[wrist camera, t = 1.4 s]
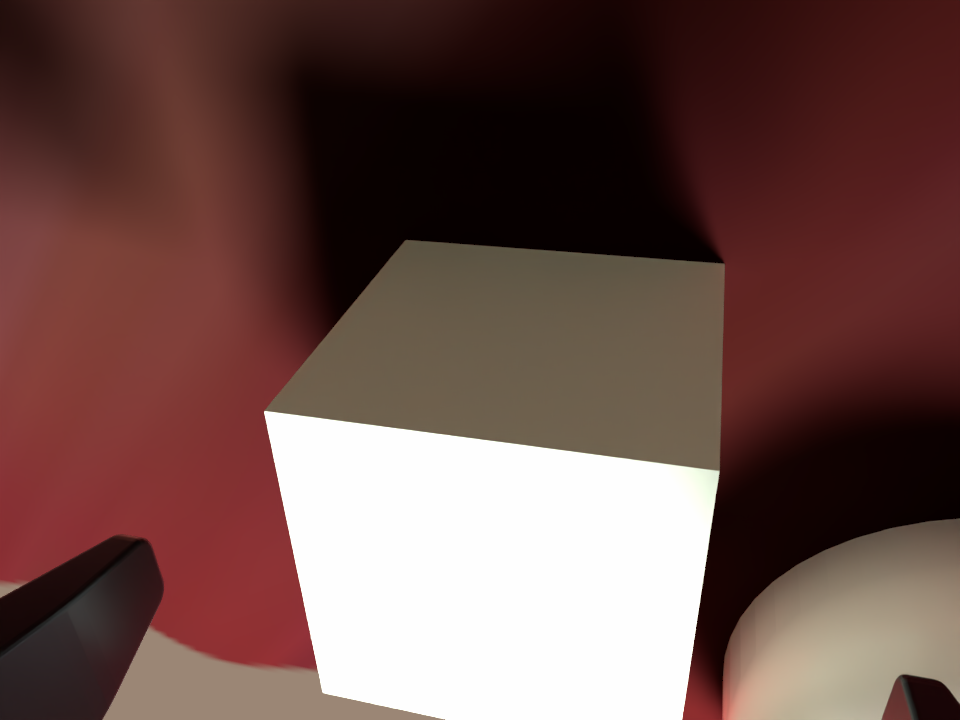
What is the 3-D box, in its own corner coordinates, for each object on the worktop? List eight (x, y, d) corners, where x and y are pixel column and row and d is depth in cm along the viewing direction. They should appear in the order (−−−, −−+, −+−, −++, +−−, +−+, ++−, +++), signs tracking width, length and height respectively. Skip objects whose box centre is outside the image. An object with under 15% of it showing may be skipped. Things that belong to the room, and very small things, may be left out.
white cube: (724, 262, 12) (719, 471, 8) (691, 514, 15) (674, 768, 11) (407, 238, 13) (264, 411, 9) (427, 476, 16) (323, 692, 12)
